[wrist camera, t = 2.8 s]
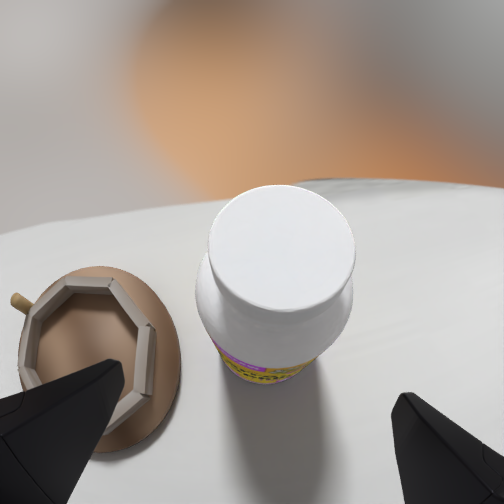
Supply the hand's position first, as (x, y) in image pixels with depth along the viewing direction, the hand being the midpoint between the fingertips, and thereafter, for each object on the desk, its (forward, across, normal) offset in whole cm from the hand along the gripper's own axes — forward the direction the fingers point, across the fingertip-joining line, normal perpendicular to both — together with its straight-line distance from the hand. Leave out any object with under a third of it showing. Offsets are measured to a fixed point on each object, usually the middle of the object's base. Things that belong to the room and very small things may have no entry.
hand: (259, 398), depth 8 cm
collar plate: (+8, +13, +8) cm, 17 cm away
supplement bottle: (+11, 0, +5) cm, 12 cm away
